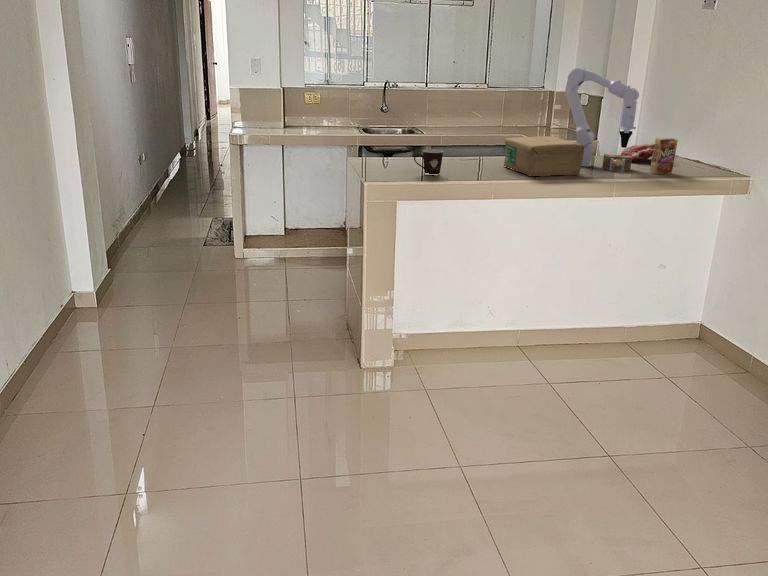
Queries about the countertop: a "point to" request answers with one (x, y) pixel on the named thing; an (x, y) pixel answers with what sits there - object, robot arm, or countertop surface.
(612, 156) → the bearing block
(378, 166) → the countertop surface
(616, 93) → the robot arm
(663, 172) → the candy box
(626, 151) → the meat
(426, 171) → the coffee mug
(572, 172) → the paper package
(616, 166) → the shaft
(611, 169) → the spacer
